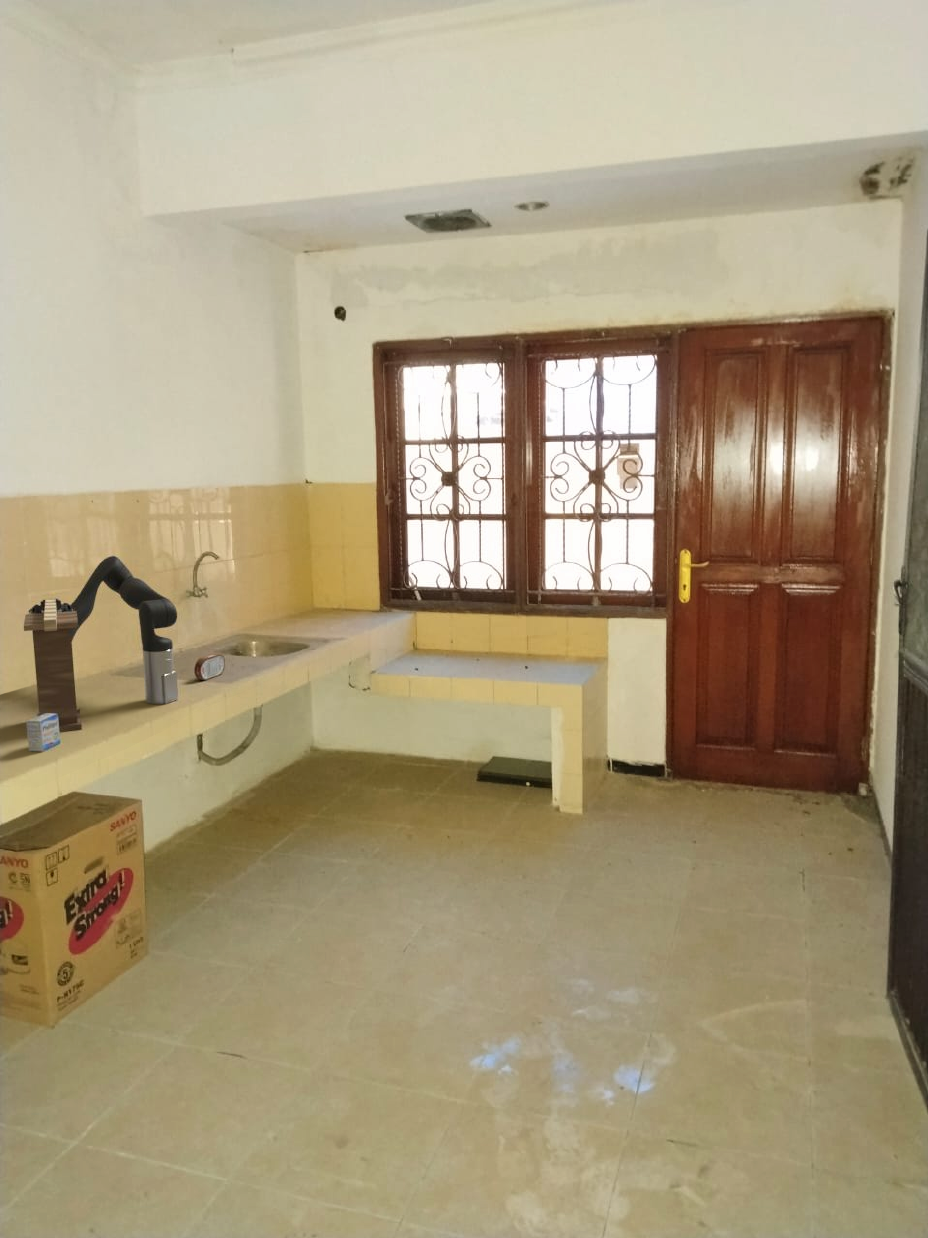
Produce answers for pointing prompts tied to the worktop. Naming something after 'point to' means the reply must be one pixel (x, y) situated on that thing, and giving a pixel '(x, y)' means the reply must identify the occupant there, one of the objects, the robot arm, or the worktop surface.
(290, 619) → the worktop surface
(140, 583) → the robot arm
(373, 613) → the worktop surface
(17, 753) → the worktop surface
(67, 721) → the stand
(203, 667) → the tin
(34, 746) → the medicine box
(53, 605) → the bar
